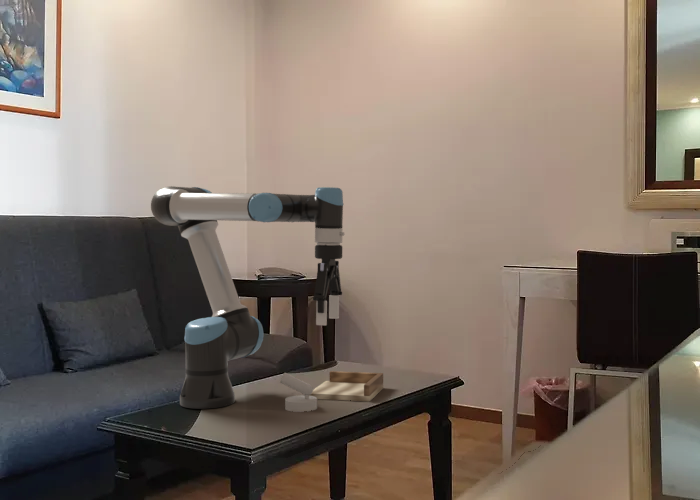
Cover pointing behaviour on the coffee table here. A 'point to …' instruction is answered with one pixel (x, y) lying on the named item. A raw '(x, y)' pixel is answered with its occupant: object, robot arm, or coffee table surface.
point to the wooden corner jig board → (350, 386)
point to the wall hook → (300, 401)
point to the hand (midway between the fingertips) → (327, 321)
